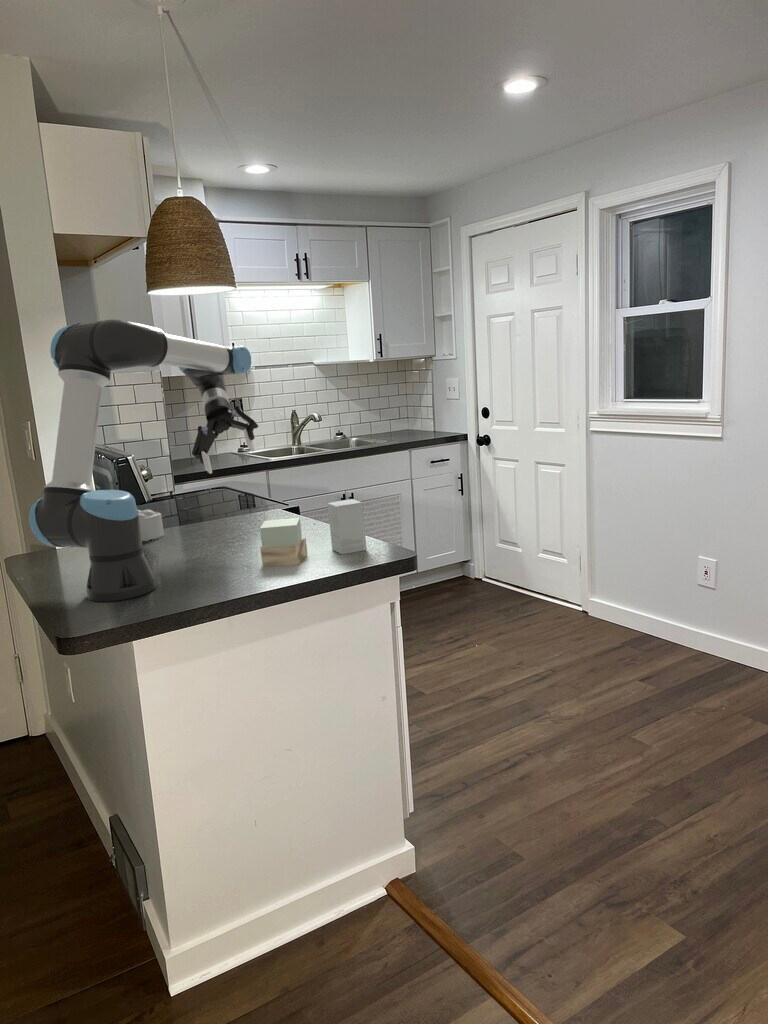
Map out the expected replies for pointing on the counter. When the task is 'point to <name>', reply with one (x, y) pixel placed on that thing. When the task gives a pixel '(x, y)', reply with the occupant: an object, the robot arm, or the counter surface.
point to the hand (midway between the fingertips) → (229, 459)
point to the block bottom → (284, 554)
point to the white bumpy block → (150, 524)
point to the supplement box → (347, 526)
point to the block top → (281, 532)
